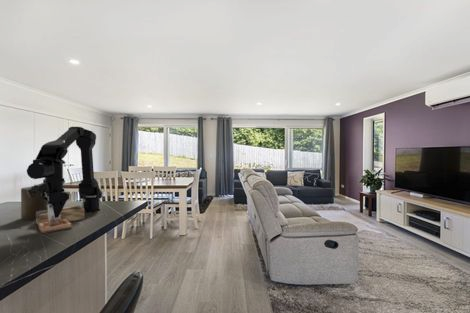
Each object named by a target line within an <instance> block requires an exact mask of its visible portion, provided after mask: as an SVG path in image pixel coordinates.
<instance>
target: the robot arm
mask: <svg viewBox="0 0 470 313" xmlns="http://www.w3.org/2000/svg"><path fill="white" fill-rule="evenodd" d="M96 140H97V135H96V133H95V132H94V131H92V130H89V129H86V128H84V127H82V126H70V127H68V130H66V131H65V132H64V133H63V134H61V135H60V136H59V137H58V138H57V139H55V140H52V141H48V142H46V143H43V145H42V146H41V148H40V149H39V152H38V154H37V155H36V157H35V159H33V160H32V163H31V164H29V165H28V167H27V169H26V173H27V176H28V177H29V178H30V179H33V180H39V179H43V180H42V182H41V183H39V184H35V186H34V185H32V186H29V187H30V188H27V189H26V191H27V193H28V195H29V197H30V198H33V197H35V196H36V195H39V194H41V196H44V195H45V197H42V198H44V199H45V200H46V201H47V202H48V204H49V203H50V204H52V207H53V212H54V216H55V218H58V217H59V215H60V213H61V211H62V209H63V208H65V207H64V206H65V205H66V203H67V201H68V200H70V194H69V193H68V192H66V191H65V188H64V184H63V181H64V180H65V178H64V168H63V167H64V165H65V164H66V161H65V160H63V159H64V158H65V156H66V155H67V153H68V152H69V150H68V148H70V146H71V145H72V144H73V143H74V142H75V145H77V147H78V148H79V150H80V160H81V173H82V175H81V176H82V179H81V181H80V182H79V183H78V194H79V200H83V201H82V203H81V204H82V206H81V207H82V208H84V213H90V212H95V211H101V208H100V199H102V197H103V191H102V190H101V188H100V187H99V182H98V181H97V179H96V178H95V175H94V174H95V172H94V157H93V149H94V147H95V145H96V142H97V141H96Z"/></svg>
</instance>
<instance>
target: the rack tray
mask: <svg viewBox="0 0 470 313" xmlns="http://www.w3.org/2000/svg"><path fill="white" fill-rule="evenodd" d="M68 229H72V223H71V221H68V220H66V219H63V220H61V225H56V226H51V227H49V225H48V222H45V223H39V225H38V230H39V231H40V232H41V233H42V234H46V233H52V232H58V231H62V230H63V231H64V230H68Z"/></svg>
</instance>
